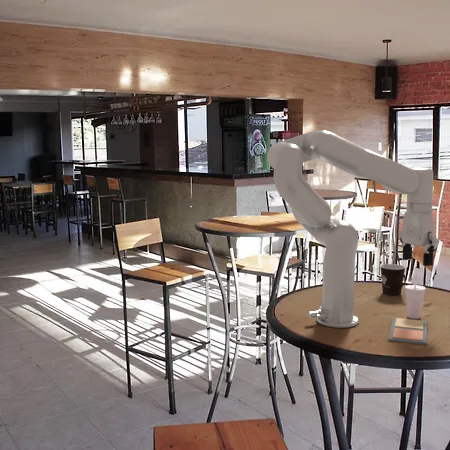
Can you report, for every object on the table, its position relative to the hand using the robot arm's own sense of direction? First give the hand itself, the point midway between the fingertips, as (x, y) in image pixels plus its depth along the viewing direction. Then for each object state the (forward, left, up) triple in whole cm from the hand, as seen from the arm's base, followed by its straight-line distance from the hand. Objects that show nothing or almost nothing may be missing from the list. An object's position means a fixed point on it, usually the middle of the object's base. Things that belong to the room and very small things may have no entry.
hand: (417, 262), depth 180 cm
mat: (-11, -10, -18) cm, 23 cm away
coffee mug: (+10, +24, -18) cm, 31 cm away
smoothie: (0, 0, -18) cm, 18 cm away
